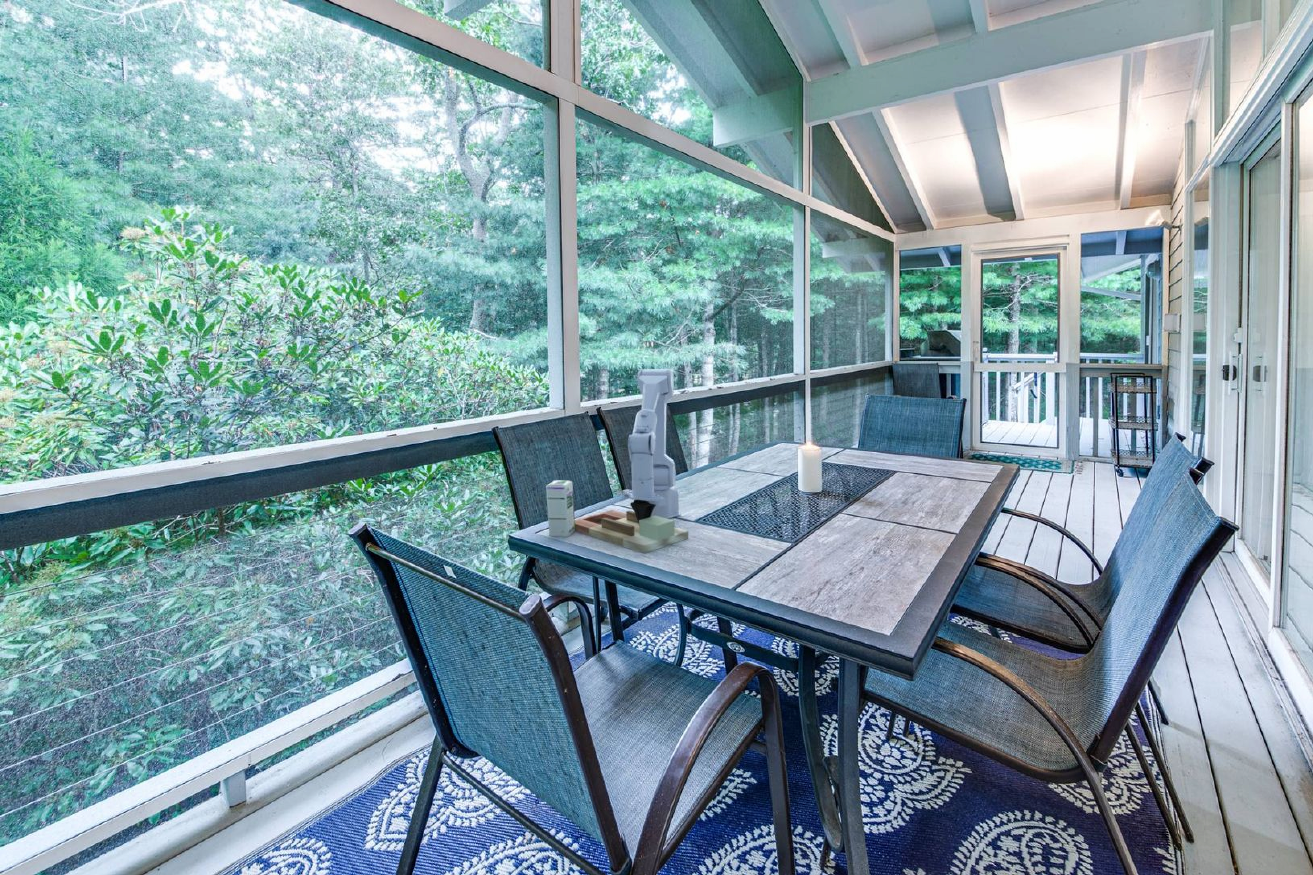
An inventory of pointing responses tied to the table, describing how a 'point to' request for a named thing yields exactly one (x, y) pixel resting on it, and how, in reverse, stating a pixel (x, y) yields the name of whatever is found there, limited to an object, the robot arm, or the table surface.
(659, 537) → the sage block
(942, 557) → the table surface
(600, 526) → the trap track
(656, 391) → the robot arm
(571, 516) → the syrup box
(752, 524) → the table surface
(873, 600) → the table surface
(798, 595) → the table surface
